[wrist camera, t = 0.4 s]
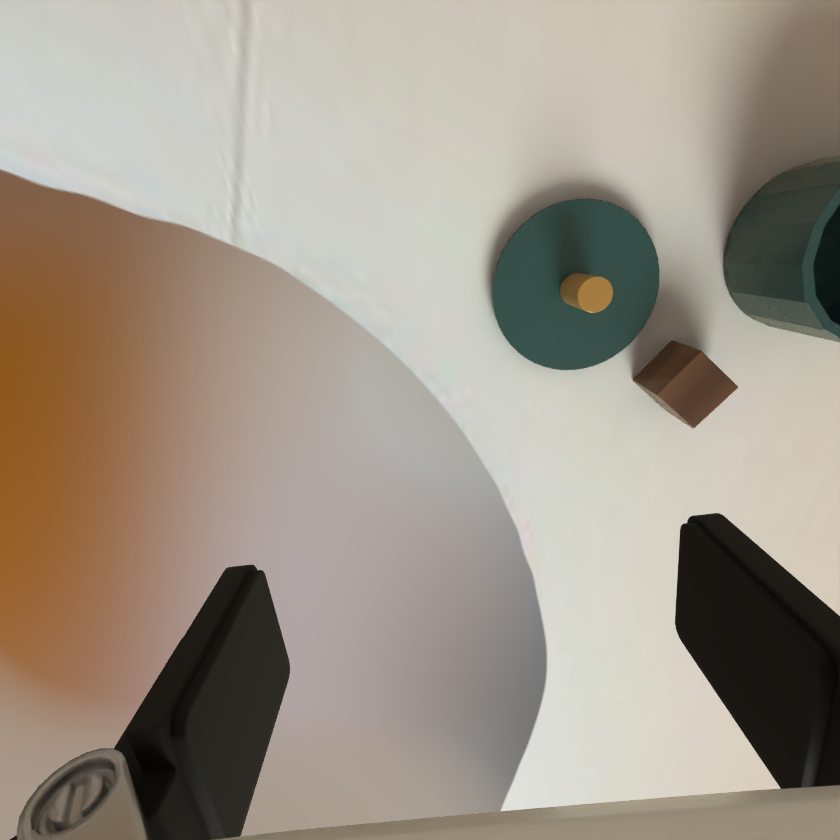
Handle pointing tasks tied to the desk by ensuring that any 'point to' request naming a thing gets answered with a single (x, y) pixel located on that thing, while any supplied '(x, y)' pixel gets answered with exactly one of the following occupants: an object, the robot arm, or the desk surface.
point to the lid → (575, 284)
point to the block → (685, 383)
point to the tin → (790, 252)
